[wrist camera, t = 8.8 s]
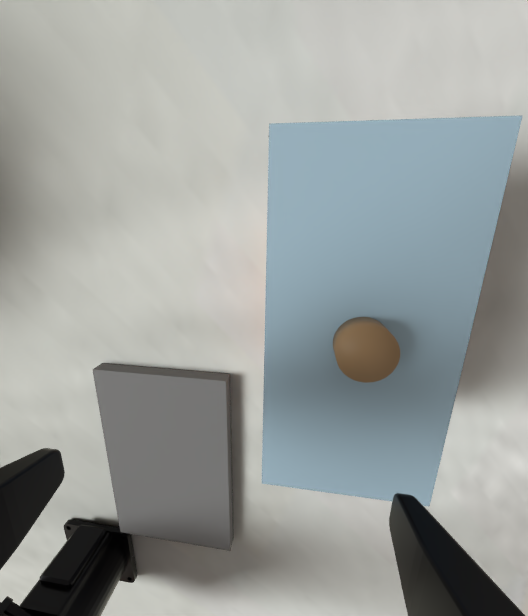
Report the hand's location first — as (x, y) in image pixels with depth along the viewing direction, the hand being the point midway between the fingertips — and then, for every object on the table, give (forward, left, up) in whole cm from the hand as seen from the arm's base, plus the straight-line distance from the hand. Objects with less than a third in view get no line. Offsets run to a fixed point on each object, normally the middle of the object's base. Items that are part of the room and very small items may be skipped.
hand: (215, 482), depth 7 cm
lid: (+3, -4, -7) cm, 8 cm away
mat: (-11, +8, -12) cm, 18 cm away
